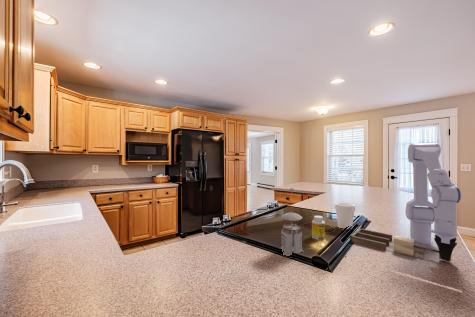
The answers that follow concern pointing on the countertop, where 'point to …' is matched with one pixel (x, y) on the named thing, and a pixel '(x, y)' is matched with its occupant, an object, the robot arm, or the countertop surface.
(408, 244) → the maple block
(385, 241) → the lane shelf
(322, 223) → the supplement bottle
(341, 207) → the foam cup
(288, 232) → the french press
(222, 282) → the countertop surface
